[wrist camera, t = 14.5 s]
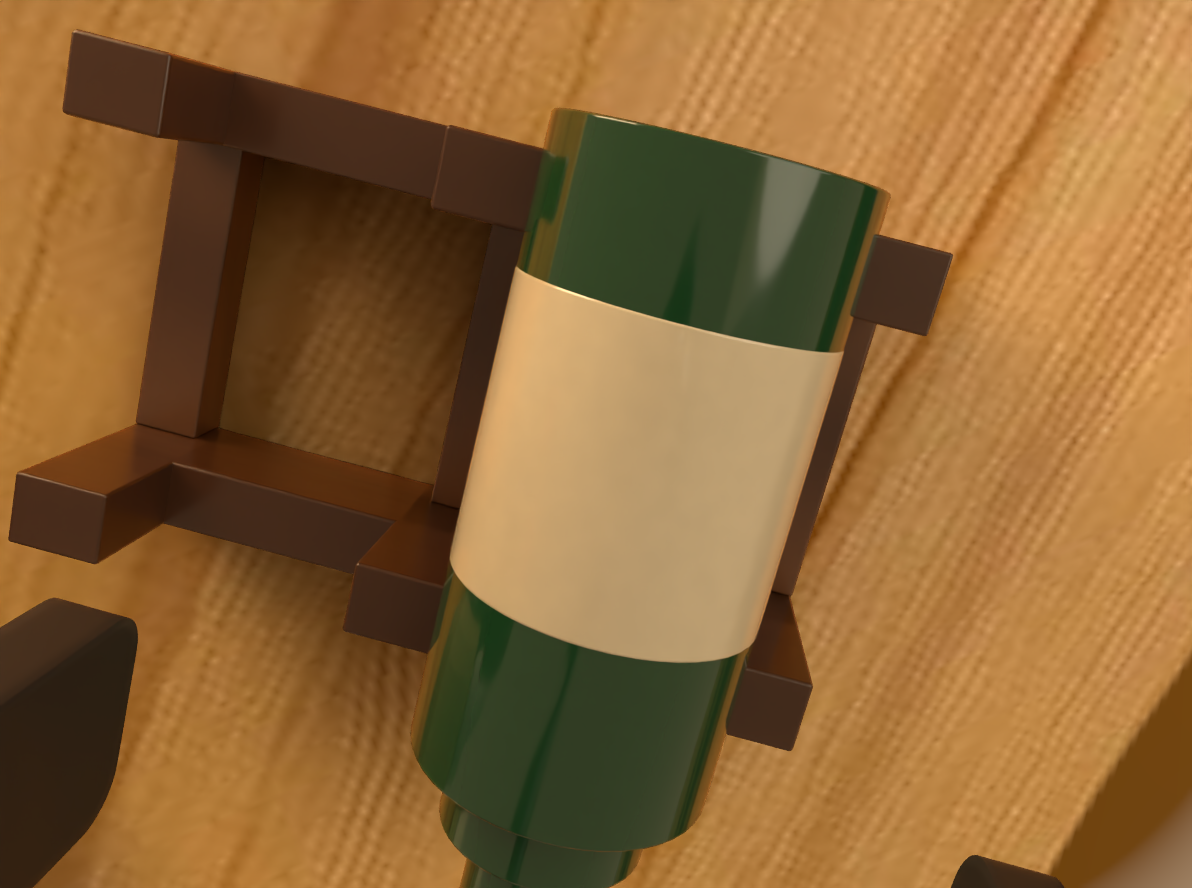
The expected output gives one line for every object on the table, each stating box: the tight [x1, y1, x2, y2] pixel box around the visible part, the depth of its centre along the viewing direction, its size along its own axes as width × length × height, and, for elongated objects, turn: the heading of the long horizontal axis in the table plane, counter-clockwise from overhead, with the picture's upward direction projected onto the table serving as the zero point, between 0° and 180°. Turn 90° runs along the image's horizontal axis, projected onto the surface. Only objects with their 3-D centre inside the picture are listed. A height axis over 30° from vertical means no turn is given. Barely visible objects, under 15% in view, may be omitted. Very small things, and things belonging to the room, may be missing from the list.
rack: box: [9, 29, 953, 751], centre depth 25 cm, size 11×17×6 cm, turn 76°
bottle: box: [410, 108, 891, 888], centre depth 21 cm, size 18×6×6 cm, turn 166°
